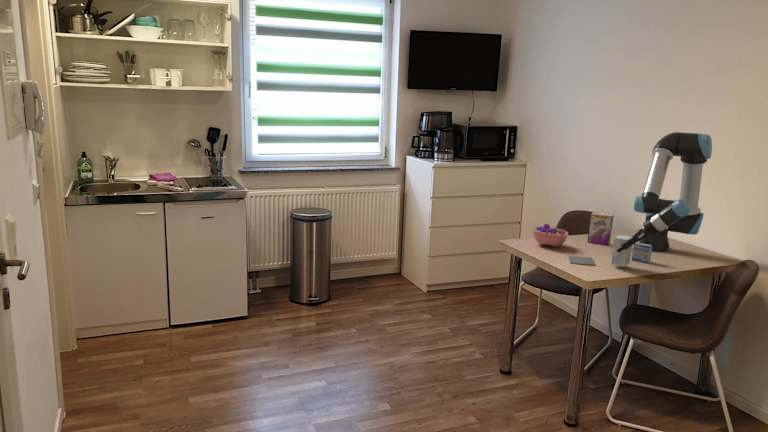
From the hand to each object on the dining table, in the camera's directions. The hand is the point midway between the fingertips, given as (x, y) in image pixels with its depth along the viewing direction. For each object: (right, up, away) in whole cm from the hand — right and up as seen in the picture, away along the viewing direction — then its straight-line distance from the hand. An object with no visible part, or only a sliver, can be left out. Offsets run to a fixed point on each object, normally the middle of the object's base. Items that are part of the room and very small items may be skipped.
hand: (614, 252), depth 269 cm
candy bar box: (+9, +2, +43) cm, 44 cm away
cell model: (-21, +1, +34) cm, 40 cm away
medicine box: (+18, -5, +11) cm, 22 cm away
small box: (+3, -5, -1) cm, 6 cm away
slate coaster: (-13, -4, +7) cm, 16 cm away
